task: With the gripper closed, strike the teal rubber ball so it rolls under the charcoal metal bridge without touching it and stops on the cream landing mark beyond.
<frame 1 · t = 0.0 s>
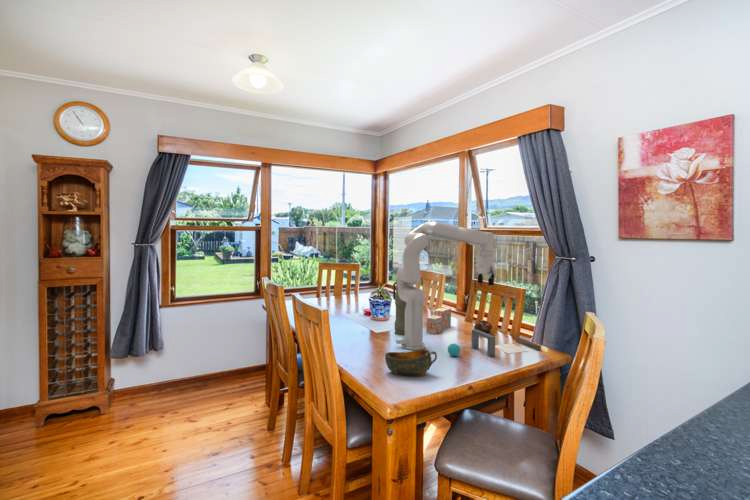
hand: (485, 283, 210), 31 cm above the table, tool pointing down, fingers open, 9 cm apart
cup: (410, 374, 158), on the table
ball: (453, 349, 181), on the table
stopper wall: (528, 346, 197), on the table
stack of blocks: (438, 330, 229), on the table
landing mark: (509, 348, 193), on the table
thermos: (402, 333, 221), on the table
bridge: (482, 352, 187), on the table
decorative turtle: (482, 334, 221), on the table
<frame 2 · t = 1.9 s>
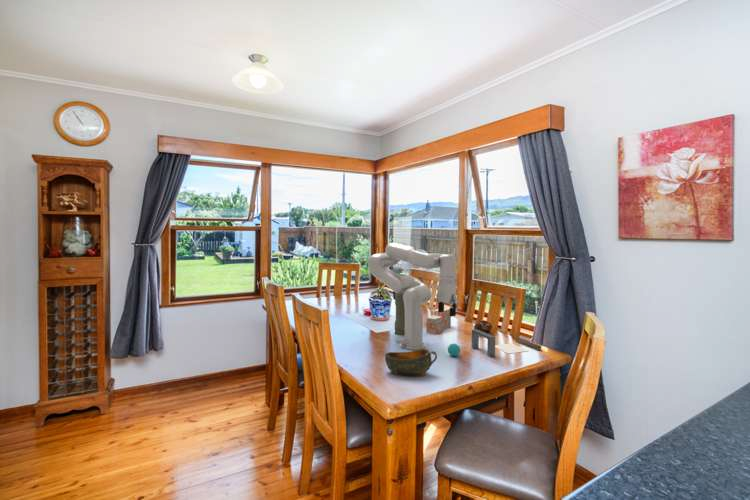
hand: (446, 313, 182), 20 cm above the table, tool pointing down, fingers open, 9 cm apart
nothing on the table moved.
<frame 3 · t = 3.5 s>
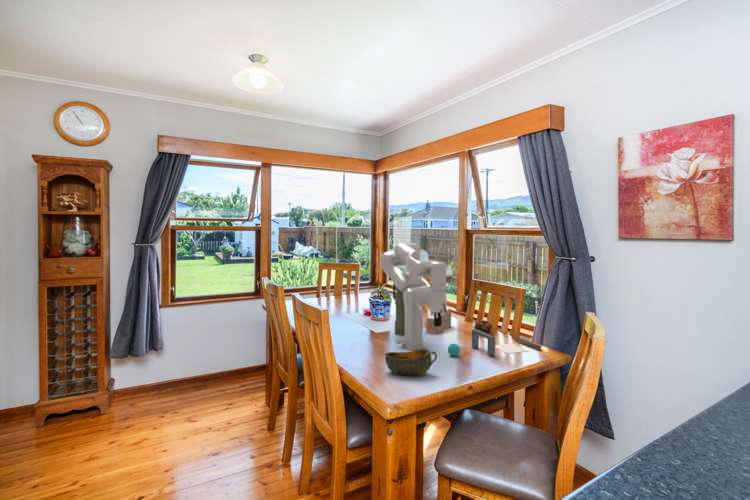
hand: (437, 325, 177), 16 cm above the table, tool pointing down, fingers closed
nothing on the table moved.
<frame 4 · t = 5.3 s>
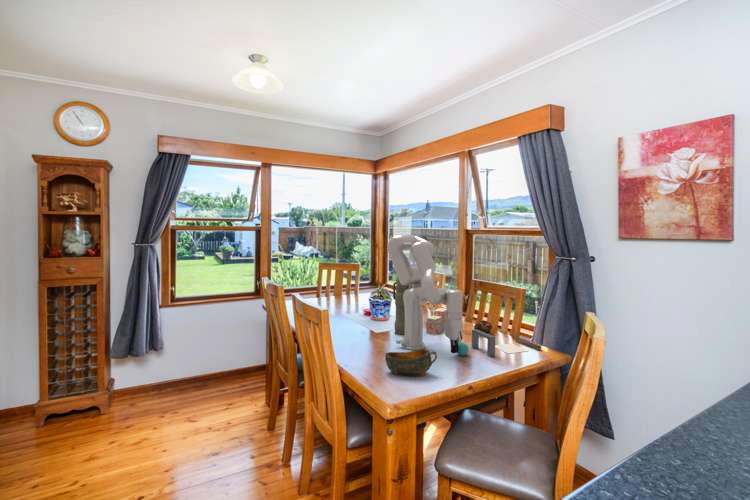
hand: (454, 352, 180), 2 cm above the table, tool pointing down, fingers closed
ball: (462, 349, 182), on the table
everything else where it was.
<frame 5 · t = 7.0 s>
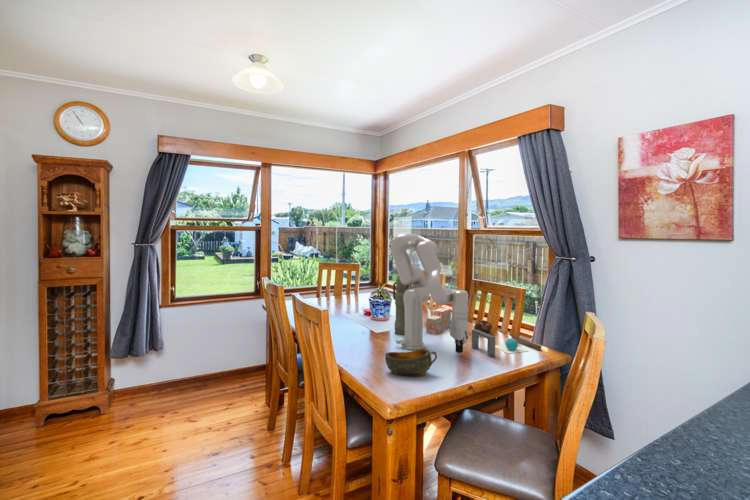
hand: (459, 352, 182), 2 cm above the table, tool pointing down, fingers closed
ball: (511, 344, 190), on the table
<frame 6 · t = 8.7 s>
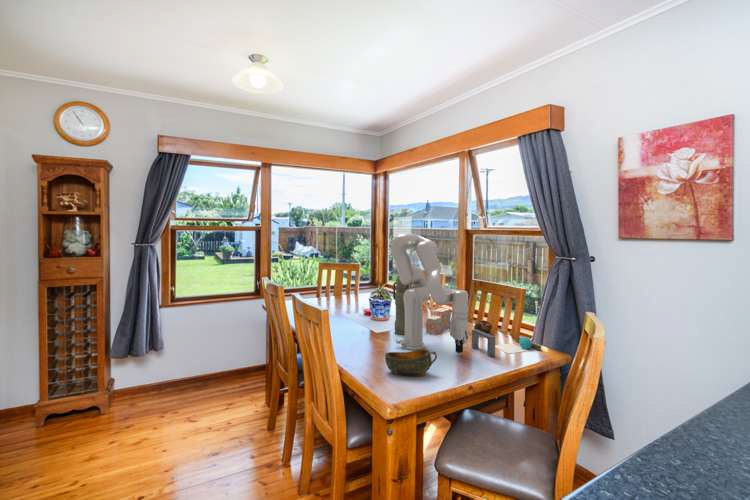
hand: (459, 352, 182), 2 cm above the table, tool pointing down, fingers closed
ball: (525, 343, 193), on the table
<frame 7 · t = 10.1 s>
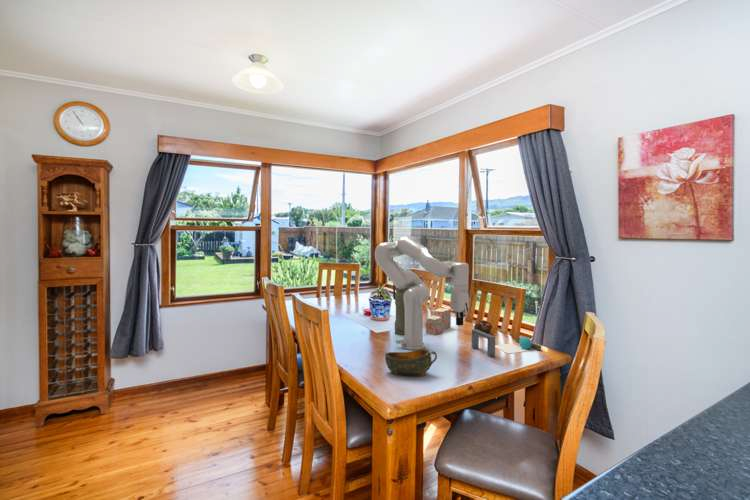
hand: (459, 324, 181), 15 cm above the table, tool pointing down, fingers closed
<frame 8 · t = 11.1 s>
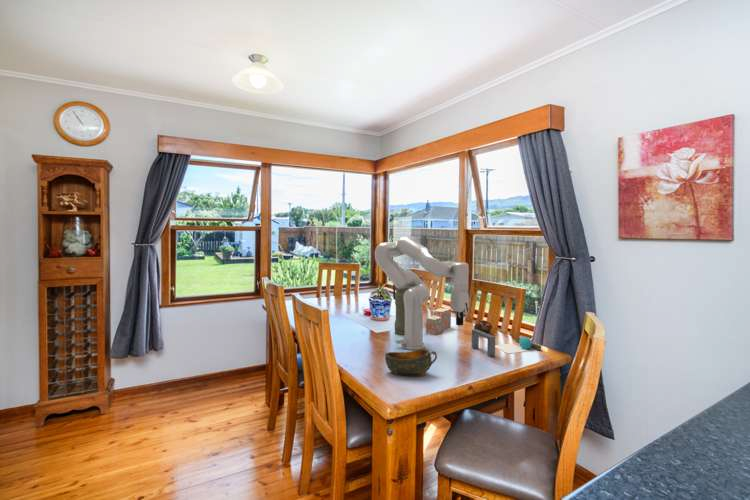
hand: (459, 324, 181), 15 cm above the table, tool pointing down, fingers closed
at the end: ball 7.8 cm from the landing mark (horizontally); ball never touched bridge; ball at rest at the end (0.0 cm/s) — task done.
